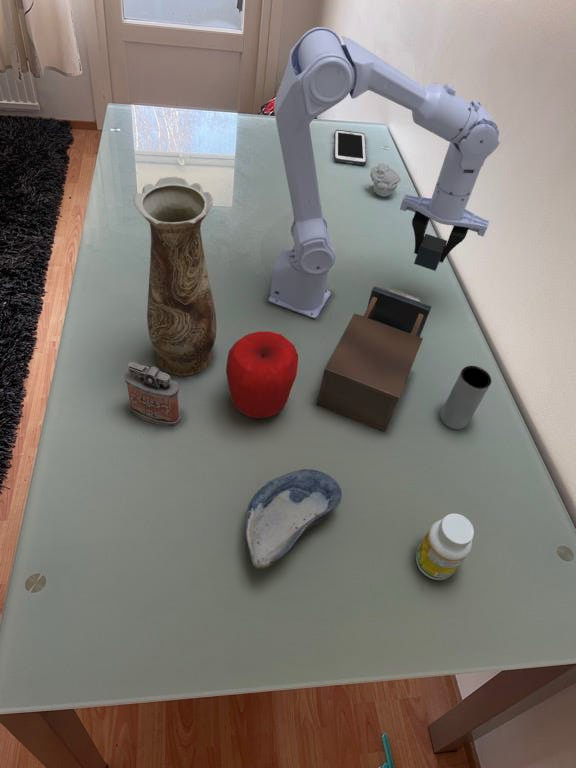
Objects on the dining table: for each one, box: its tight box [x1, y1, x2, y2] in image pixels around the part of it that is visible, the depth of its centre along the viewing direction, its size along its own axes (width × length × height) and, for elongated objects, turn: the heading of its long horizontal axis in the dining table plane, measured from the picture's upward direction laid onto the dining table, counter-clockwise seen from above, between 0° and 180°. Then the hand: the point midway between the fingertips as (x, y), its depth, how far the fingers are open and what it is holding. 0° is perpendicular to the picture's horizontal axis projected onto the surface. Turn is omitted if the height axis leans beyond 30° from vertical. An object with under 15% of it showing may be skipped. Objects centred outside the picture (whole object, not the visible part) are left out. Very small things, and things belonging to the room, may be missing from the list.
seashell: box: [245, 468, 343, 569], centre depth 77 cm, size 15×12×5 cm
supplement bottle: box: [415, 513, 475, 581], centre depth 74 cm, size 5×5×10 cm
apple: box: [225, 331, 299, 419], centre depth 87 cm, size 10×10×14 cm
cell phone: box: [333, 129, 367, 166], centre depth 146 cm, size 8×15×1 cm, turn 177°
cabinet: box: [316, 312, 423, 433], centre depth 93 cm, size 14×12×9 cm
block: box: [413, 233, 448, 272], centre depth 104 cm, size 4×4×4 cm
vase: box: [133, 176, 217, 377], centre depth 85 cm, size 10×11×30 cm
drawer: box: [362, 285, 432, 337], centre depth 100 cm, size 17×10×7 cm, turn 157°
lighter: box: [124, 361, 181, 427], centre depth 85 cm, size 8×3×10 cm, turn 71°
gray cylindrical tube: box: [439, 365, 492, 430], centre depth 90 cm, size 4×4×10 cm
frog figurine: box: [369, 162, 402, 197], centre depth 132 cm, size 6×7×7 cm
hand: (429, 255), depth 104 cm, fingers closed on block, 4 cm apart
